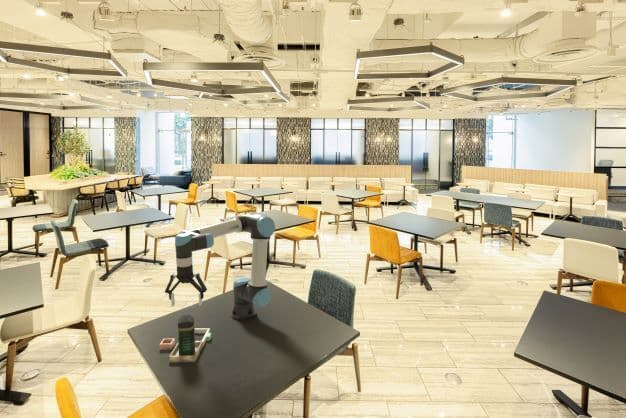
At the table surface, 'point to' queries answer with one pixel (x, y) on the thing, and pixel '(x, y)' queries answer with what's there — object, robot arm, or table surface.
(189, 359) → the beige shallow box
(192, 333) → the coffee jar
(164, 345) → the dish
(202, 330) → the frame
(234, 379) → the table surface
